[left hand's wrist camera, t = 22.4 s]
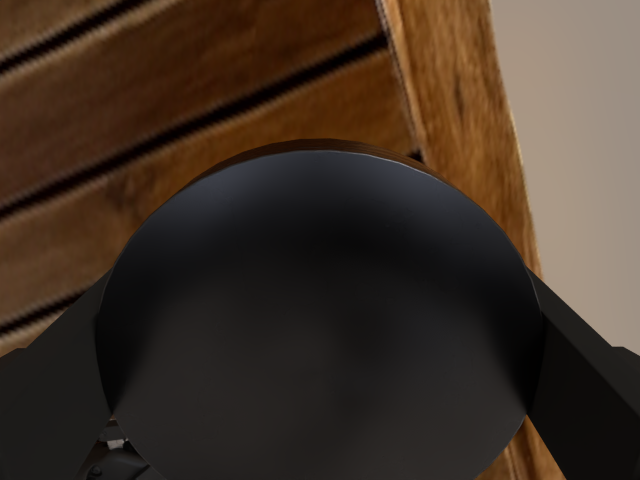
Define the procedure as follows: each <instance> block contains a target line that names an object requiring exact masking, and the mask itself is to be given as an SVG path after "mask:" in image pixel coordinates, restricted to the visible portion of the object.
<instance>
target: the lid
mask: <svg viewBox="0 0 640 480" xmlns="http://www.w3.org/2000/svg"><path fill="white" fill-rule="evenodd" d="M95 340H96V355H97V363H98V368H99V373H100V378H101V383H102V387H103V391H104V394H105V396H106V399H107V401H108V404H109V407H110V409H111V412H112V414H113V415H114V417H115V419H116V421H117V423H118V424H119V426H120V428H121V430H122V432H123V433H124V435H125V436H126V437H127V439H128V440H129V441H130V443H131V444H132V445H133V447H134V448H135V449H136V451H137V452H138V453H139V454H140V455H141V456H142V457H143V458H144V460H145V461H146V462H147V463H148V464H149V465H150V466H151V467H152V468H153V469H154V470H155V471H156V472H158V473H159V474H160V475H161V476H162V477H164V478H165V479H166V480H474V479H475V478H476V477H477V476H478V475H480V474H481V473H482V472H483V471H484V470H485V469H486V468H487V467H489V466H490V465H491V464H492V463H493V461H494V460H495V459H496V458H497V457H498V456H499V455H500V454H501V452H502V451H503V450H504V449H505V448H506V447H507V445H508V444H509V442H510V441H511V439H512V438H513V437H514V435H515V434H516V432H517V431H518V429H519V428H520V426H521V424H522V422H523V420H524V418H525V416H526V414H527V412H528V410H529V408H530V406H531V404H532V401H533V398H534V395H535V392H536V389H537V386H538V382H539V376H540V371H541V366H542V361H543V346H544V329H543V322H542V315H541V307H540V303H539V299H538V296H537V293H536V290H535V286H534V283H533V280H532V278H531V276H530V274H529V271H528V269H527V267H526V265H525V263H524V261H523V259H522V257H521V255H520V253H519V252H518V251H517V249H516V248H515V246H514V245H513V243H512V242H511V241H510V239H509V238H508V236H507V235H506V233H505V232H504V231H503V230H502V229H501V228H500V226H499V225H498V224H497V223H496V222H495V221H494V220H493V219H492V218H491V217H490V216H489V215H488V214H487V213H486V212H485V211H484V210H483V209H482V208H481V207H480V206H479V205H477V204H476V203H475V202H474V201H473V200H471V199H470V198H469V197H468V196H467V195H465V194H464V193H463V192H462V191H461V190H459V189H458V188H457V187H455V186H454V185H453V184H452V183H450V182H449V181H448V180H447V179H445V178H444V177H443V176H441V175H440V174H439V173H437V172H435V171H433V170H432V169H430V168H428V167H427V166H425V165H423V164H421V163H420V162H418V161H416V160H414V159H412V158H409V157H407V156H404V155H402V154H399V153H397V152H394V151H392V150H389V149H386V148H382V147H378V146H374V145H370V144H366V143H362V142H357V141H348V140H339V139H298V140H291V141H285V142H278V143H272V144H268V145H265V146H261V147H258V148H255V149H251V150H248V151H244V152H242V153H240V154H237V155H235V156H233V157H231V158H229V159H226V160H224V161H222V162H220V163H217V164H216V165H214V166H213V167H211V168H209V169H208V170H206V171H205V172H203V173H202V174H200V175H198V176H197V177H195V178H194V179H192V180H191V181H190V182H189V183H188V184H186V185H185V186H184V187H183V188H182V189H180V190H179V191H178V192H177V193H176V194H174V195H173V196H172V197H171V198H170V199H168V200H167V201H166V202H165V203H164V204H163V205H161V206H160V207H159V208H158V209H157V210H156V211H154V212H153V213H152V214H151V215H150V216H149V217H148V218H147V219H146V220H145V221H144V223H143V224H142V225H141V226H140V227H139V228H138V230H137V231H136V232H135V233H134V234H133V235H132V236H131V238H130V239H129V241H128V242H127V244H126V245H125V247H124V249H123V250H122V252H121V253H120V255H119V257H118V258H117V260H116V261H115V263H114V266H113V268H112V270H111V273H110V275H109V277H108V280H107V282H106V284H105V287H104V290H103V294H102V298H101V302H100V306H99V310H98V316H97V327H96V338H95Z"/></svg>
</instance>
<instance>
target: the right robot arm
mask: <svg viewBox="0 0 640 480" xmlns="http://www.w3.org/2000/svg"><path fill="white" fill-rule="evenodd" d="M97 440H99V441H102V442H104V443H99V444H95V445H94V446H93V448H92V449H91V451H90V453H89V454H88V456H87V458H86V459H85V461H84V462H83V464H82V466H81V467H80V469H79V471H78V472H77V474H76V476H75V477H74V479H73V480H166V479H165V478H164V477H162V476H161V475H160V474H159V473H158V472H156V471H155V470H154V469H153V468H152V467H151V466H150V465H149V464H148V463H147V462H146V461H145V460H144V458H143V457H142V456H141V455H140V454H139V453H138V452H137V451H136V449H135V448H134V447H133V445H132V444H131V443H130V441H129V440H128V439H127V437H126V436H125V435H124V433H123V432H122V430H121V428H120V426H119V424H118V423H117V421H116V419H115V417H114V415H112V416H111V418H110V420H109V421H108V423H107V425H106V426H105V428H104V430H103V431H102V433H101V434H100V436H99V438H98V439H97ZM106 441H107V442H106Z"/></svg>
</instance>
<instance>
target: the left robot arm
mask: <svg viewBox="0 0 640 480" xmlns="http://www.w3.org/2000/svg"><path fill="white" fill-rule="evenodd" d="M112 268H113V267H112ZM112 268H111V269H110V270H109V271H108V272H107V273H106V274H105V275H104V276H103V277H101V278H100V279H99V280H98V281H97V282H96V283H95V284H94V285H93V286H92V287H91V288H90V289H89V290H88V291H87V292H85V293H84V294H83V295H82V296H81V297H80V298H79V299H78V300H77V301H76V302H75V303H74V304H73V305H72V306H71V307H69V308H68V309H67V310H66V311H65V312H64V313H63V314H62V315H61V316H60V317H59V318H58V319H57V320H56V321H54V322H53V323H52V324H51V325H50V326H49V327H48V328H47V329H46V330H45V331H44V332H43V333H42V334H41V335H40V336H38V337H37V338H36V339H35V340H34V341H33V342H32V343H31V344H30V345H29V346H28V347H27V348H17V349H15V350H13V351H11V352H10V353H8V354H6V355H4V356H2V357H1V358H0V480H73V479H74V477H75V476H76V474H77V472H78V471H79V469H80V467H81V466H82V464H83V462H84V461H85V459H86V458H87V456H88V454H89V453H90V451H91V449H92V448H93V446H94V444H95V443H96V441H97V439H98V438H99V436H100V434H101V433H102V431H103V430H104V428H105V426H106V425H107V423H108V421H109V420H110V418H111V416H112V415H113V414H112V412H111V409H110V407H109V404H108V401H107V399H106V396H105V394H104V391H103V387H102V383H101V378H100V373H99V368H98V363H97V355H96V340H95V338H96V327H97V316H98V310H99V306H100V302H101V298H102V294H103V290H104V287H105V284H106V282H107V280H108V277H109V275H110V273H111V270H112ZM527 269H528V271H529V274H530V276H531V278H532V280H533V283H534V286H535V290H536V293H537V296H538V299H539V303H540V307H541V315H542V322H543V329H544V346H543V361H542V366H541V371H540V376H539V382H538V386H537V389H536V392H535V395H534V398H533V401H532V404H531V406H530V408H529V410H528V412H527V415H528V417H529V418H530V420H531V422H532V423H533V425H534V427H535V428H536V430H537V432H538V433H539V435H540V437H541V438H542V440H543V442H544V443H545V445H546V446H547V448H548V450H549V451H550V453H551V455H552V456H553V458H554V460H555V461H556V463H557V465H558V466H559V468H560V470H561V471H562V473H563V475H564V476H565V478H566V479H567V480H640V356H639V355H637V354H635V353H633V352H632V351H630V350H628V349H626V348H624V347H612V346H611V345H610V344H609V343H608V342H607V341H605V340H604V339H603V338H602V337H601V336H600V335H599V334H598V333H597V332H596V331H595V330H594V329H593V328H592V327H591V326H589V325H588V324H587V323H586V322H585V321H584V320H583V319H582V318H581V317H580V316H579V315H578V314H577V313H576V312H575V311H573V310H572V309H571V308H570V307H569V306H568V305H567V304H566V303H565V302H564V301H563V300H562V299H561V298H560V297H558V296H557V295H556V294H555V293H554V292H553V291H552V290H551V289H550V288H549V287H548V286H547V285H546V284H545V283H544V282H542V281H541V280H540V279H539V278H538V277H537V276H536V275H535V274H534V273H533V272H532V271H531V270H530V269H529V268H528V267H527Z"/></svg>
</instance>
